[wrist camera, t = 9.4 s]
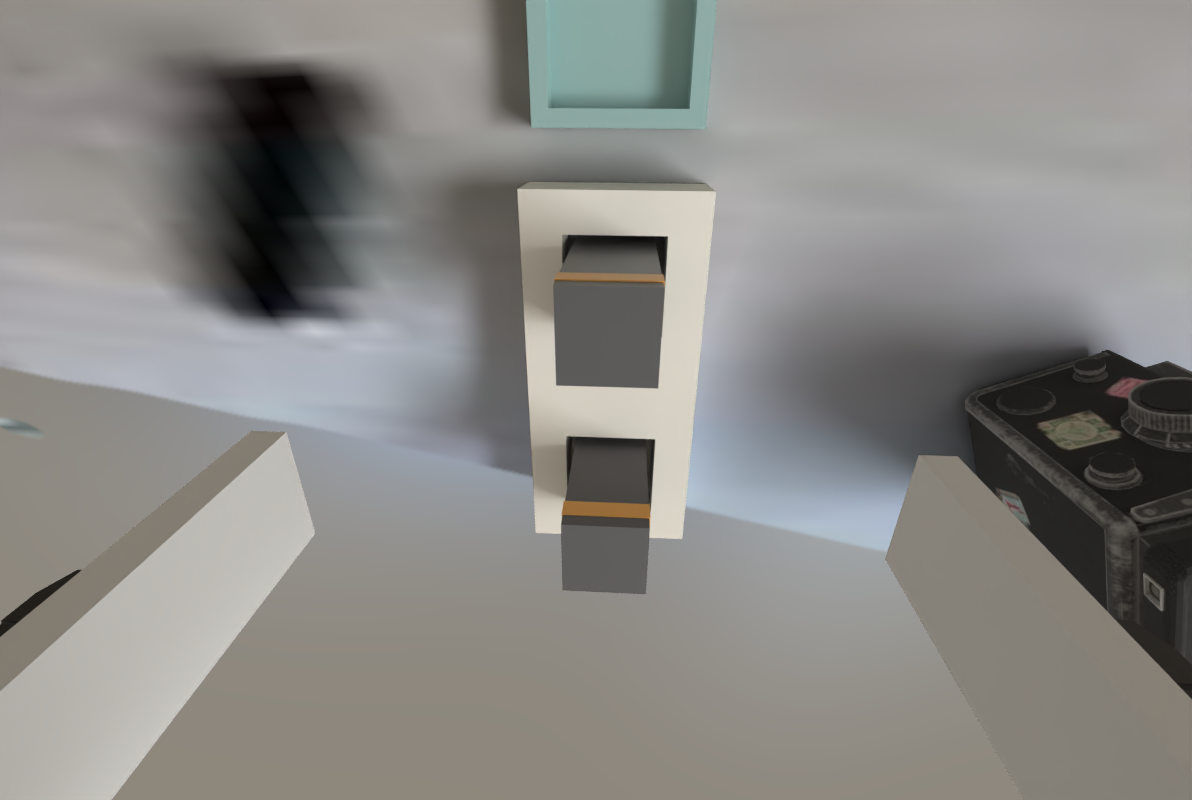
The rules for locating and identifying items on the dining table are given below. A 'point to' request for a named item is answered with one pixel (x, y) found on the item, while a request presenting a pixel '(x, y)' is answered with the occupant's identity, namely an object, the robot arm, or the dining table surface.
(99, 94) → the dining table surface
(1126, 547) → the camera
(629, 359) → the plug
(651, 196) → the battery charger
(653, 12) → the tray
